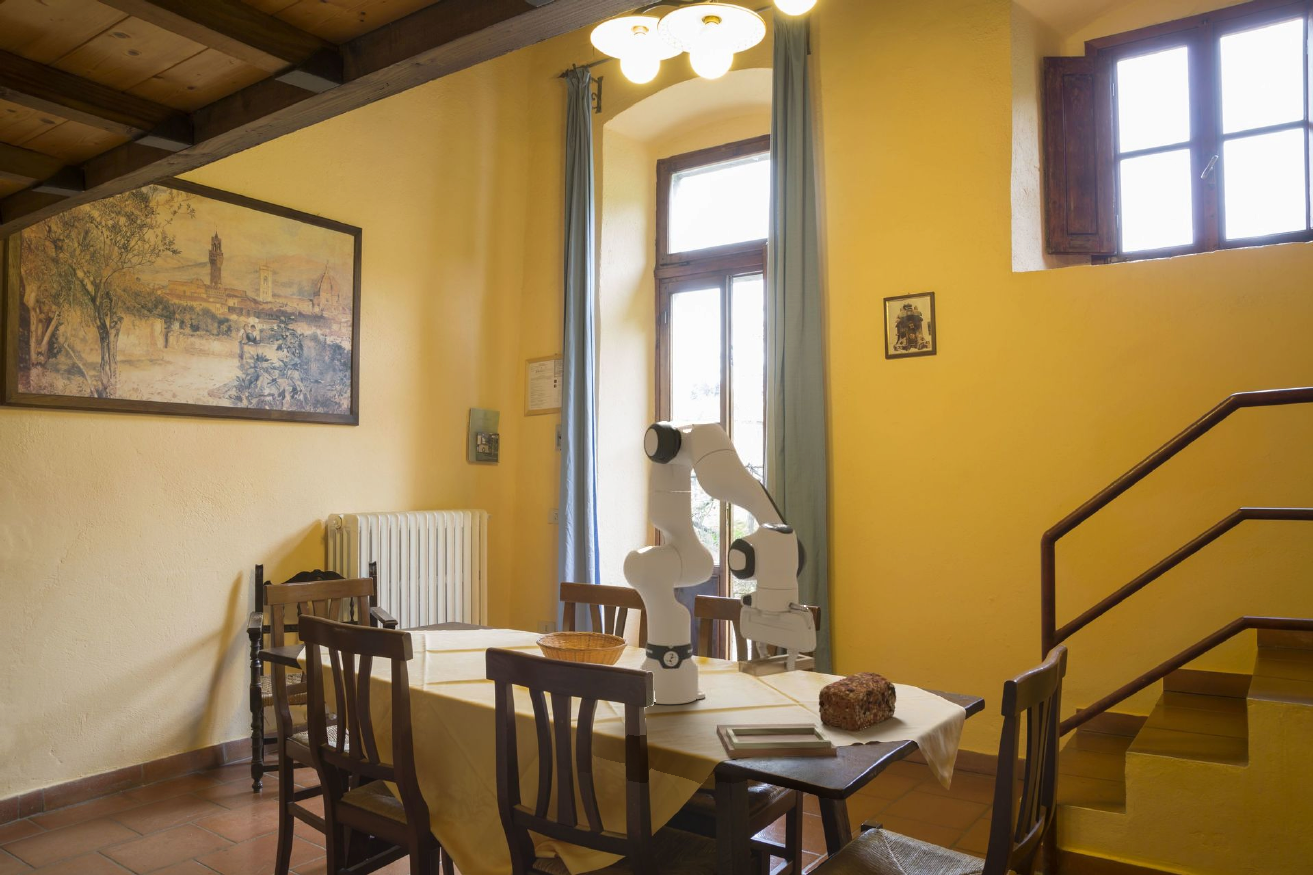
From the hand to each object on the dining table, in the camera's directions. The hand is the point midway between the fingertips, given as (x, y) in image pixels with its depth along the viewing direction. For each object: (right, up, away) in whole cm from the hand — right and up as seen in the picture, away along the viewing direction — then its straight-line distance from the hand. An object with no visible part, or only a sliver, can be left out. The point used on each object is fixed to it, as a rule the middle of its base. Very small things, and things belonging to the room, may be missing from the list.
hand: (776, 666), depth 184 cm
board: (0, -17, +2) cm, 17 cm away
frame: (0, -1, 0) cm, 1 cm away
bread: (+22, -18, +20) cm, 35 cm away
